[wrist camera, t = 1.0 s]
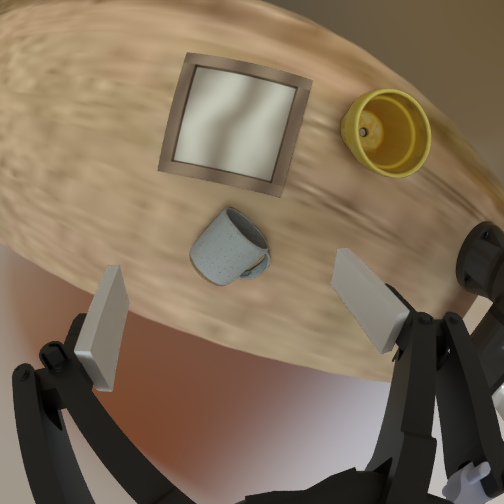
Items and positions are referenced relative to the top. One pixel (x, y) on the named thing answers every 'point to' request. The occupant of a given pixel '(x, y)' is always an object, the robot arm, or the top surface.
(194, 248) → the ceramic mug
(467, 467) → the robot arm
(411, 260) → the top surface
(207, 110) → the coaster tray
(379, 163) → the plant pot
